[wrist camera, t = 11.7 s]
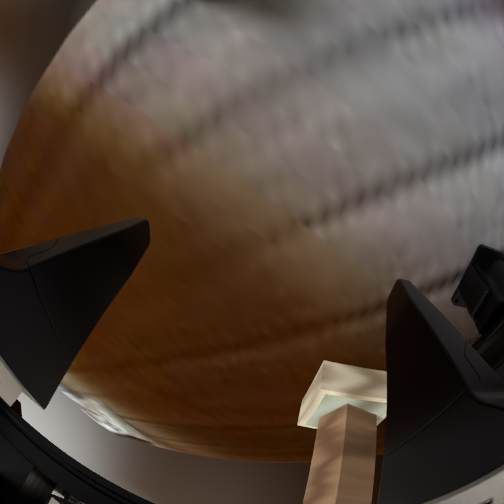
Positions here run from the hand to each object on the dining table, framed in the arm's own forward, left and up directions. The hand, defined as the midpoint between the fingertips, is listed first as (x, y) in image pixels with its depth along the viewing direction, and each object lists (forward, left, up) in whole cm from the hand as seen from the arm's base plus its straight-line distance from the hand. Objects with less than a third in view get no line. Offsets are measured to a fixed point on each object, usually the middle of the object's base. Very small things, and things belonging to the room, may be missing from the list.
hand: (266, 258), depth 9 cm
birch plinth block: (-12, +25, -13) cm, 31 cm away
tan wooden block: (-12, +25, -9) cm, 29 cm away
